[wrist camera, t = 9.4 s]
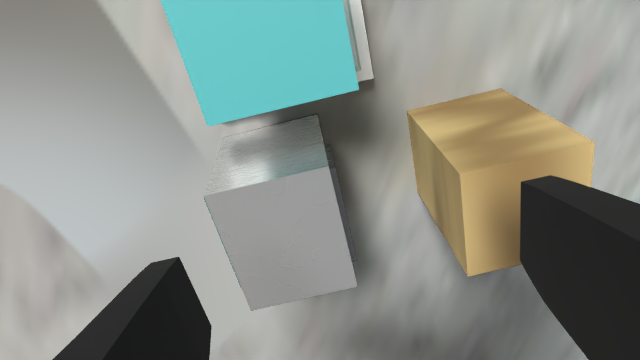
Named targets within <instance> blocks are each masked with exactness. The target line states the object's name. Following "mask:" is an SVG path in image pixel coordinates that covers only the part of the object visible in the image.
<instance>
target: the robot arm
mask: <svg viewBox="0 0 640 360" xmlns="http://www.w3.org/2000/svg"><path fill="white" fill-rule="evenodd" d="M520 261H521V263H522V265H523V267H524V269H525V270H526V272H527V274H528V276H529V277H530V279H531V281H532V283H533V284H534V286H535V288H536V289H537V291H538V292H539V294H540V296H541V297H542V299H543V301H544V302H545V304H546V305H547V306H548V308H549V309H550V310H551V312H552V313H553V314H554V315H555V317H556V318H557V319H558V321H559V322H560V323H561V325H562V326H563V327H564V328H565V330H566V331H567V332H568V334H569V335H570V336H571V338H572V339H573V340H574V341H575V343H576V344H577V345H578V346H579V348H580V349H581V350H582V352H583V353H584V354H585V355H586V357H587V358H588V359H589V360H640V204H638V203H635V202H632V201H629V200H626V199H623V198H620V197H618V196H615V195H612V194H609V193H606V192H603V191H600V190H597V189H594V188H592V187H589V186H586V185H583V184H580V183H576V182H573V181H570V180H567V179H563V178H560V177H556V176H552V175H549V176H545V177H540V178H535V179H531V180H526V181H522V182H521V201H520ZM210 339H211V324H210V322H209V320H208V318H207V316H206V314H205V311H204V309H203V308H202V305H201V303H200V301H199V299H198V296H197V294H196V292H195V290H194V288H193V286H192V284H191V281H190V279H189V277H188V275H187V273H186V271H185V269H184V266H183V264H182V262H181V260H180V258H179V257H176V258H171V259H167V260H162V261H158V262H153V263H151V264H150V265H148V266H147V267H146V268H145V269H144V270H142V271H141V272H140V273H139V274H138V275H137V276H136V277H135V278H134V279H133V280H132V281H131V282H130V283H129V284H128V285H127V286H126V287H125V288H124V289H123V290H122V291H121V292H120V293H119V294H118V295H117V296H116V297H115V298H114V299H113V300H112V301H111V302H110V303H109V304H108V305H107V306H106V307H105V308H104V309H103V310H102V311H101V312H100V313H99V314H98V315H97V316H96V317H95V318H94V319H93V320H92V321H91V322H90V323H89V324H88V325H87V326H86V327H85V328H84V329H83V330H82V331H81V332H80V333H79V334H78V335H77V336H76V337H75V339H73V340H72V341H71V342H70V343H69V344H68V345H67V346H66V347H65V348H64V349H63V350H62V351H61V352H60V353H59V354H58V355H57V356H56V357H55V358H54V359H53V360H209V355H210Z"/></svg>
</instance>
